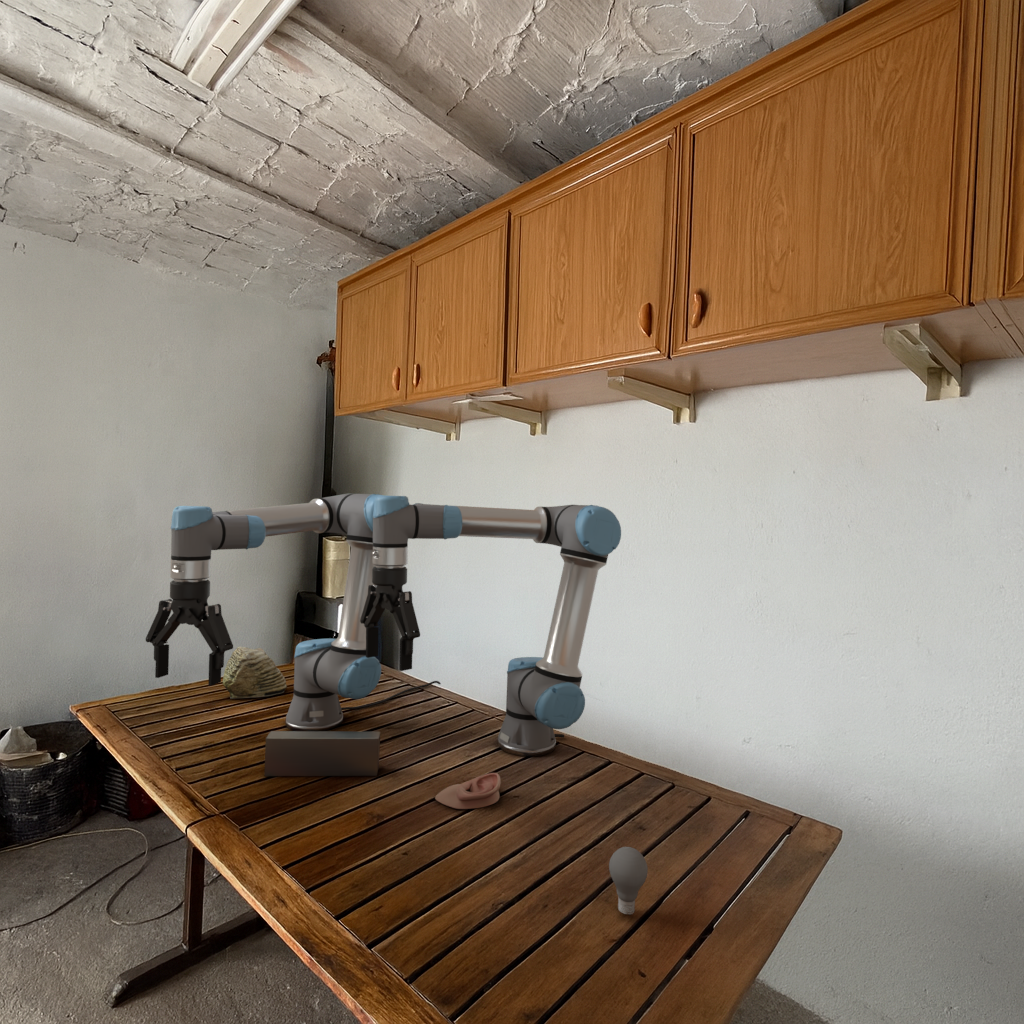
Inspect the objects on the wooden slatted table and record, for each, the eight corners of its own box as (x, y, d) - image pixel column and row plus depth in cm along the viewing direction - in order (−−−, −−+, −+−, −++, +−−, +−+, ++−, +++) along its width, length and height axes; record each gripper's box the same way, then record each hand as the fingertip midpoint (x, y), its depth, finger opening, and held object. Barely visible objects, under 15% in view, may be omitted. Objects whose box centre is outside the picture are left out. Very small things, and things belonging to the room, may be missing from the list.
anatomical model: (430, 786, 132) (447, 764, 143) (430, 805, 132) (446, 781, 143) (492, 795, 129) (504, 771, 140) (492, 814, 129) (504, 789, 140)
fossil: (218, 695, 195) (220, 647, 195) (278, 685, 208) (279, 640, 207) (228, 703, 189) (230, 653, 188) (289, 692, 201) (290, 645, 201)
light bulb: (603, 900, 103) (606, 839, 103) (639, 899, 103) (642, 839, 103) (612, 924, 97) (615, 860, 97) (650, 924, 97) (653, 860, 97)
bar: (264, 776, 142) (265, 738, 142) (269, 768, 147) (271, 731, 146) (377, 775, 145) (378, 738, 145) (378, 767, 149) (380, 731, 149)
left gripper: (128, 577, 133) (125, 677, 133) (227, 586, 126) (224, 692, 126) (157, 573, 140) (154, 668, 140) (252, 581, 133) (249, 682, 134)
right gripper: (346, 561, 144) (344, 654, 145) (407, 573, 126) (405, 678, 127) (374, 560, 150) (373, 649, 150) (438, 570, 131) (436, 672, 132)
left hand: (187, 680), depth 133 cm, fingers open, 13 cm apart
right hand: (388, 663), depth 139 cm, fingers open, 13 cm apart
